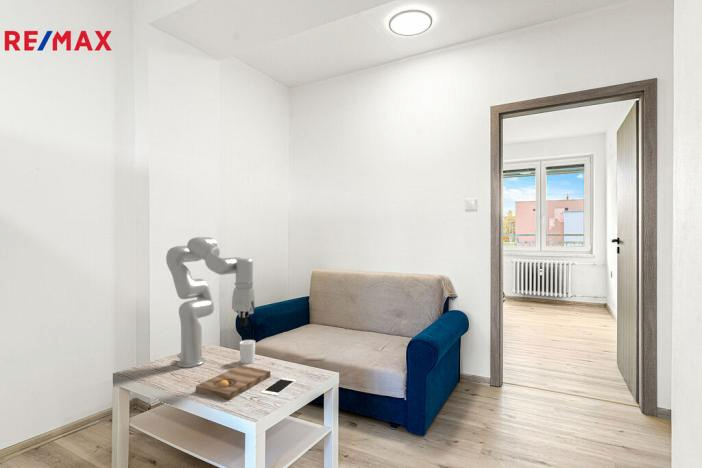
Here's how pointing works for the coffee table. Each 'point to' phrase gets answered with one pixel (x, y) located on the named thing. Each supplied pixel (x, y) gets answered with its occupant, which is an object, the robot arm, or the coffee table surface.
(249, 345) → the white cup
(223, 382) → the ball
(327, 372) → the coffee table surface
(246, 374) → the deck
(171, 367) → the coffee table surface
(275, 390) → the cell phone
